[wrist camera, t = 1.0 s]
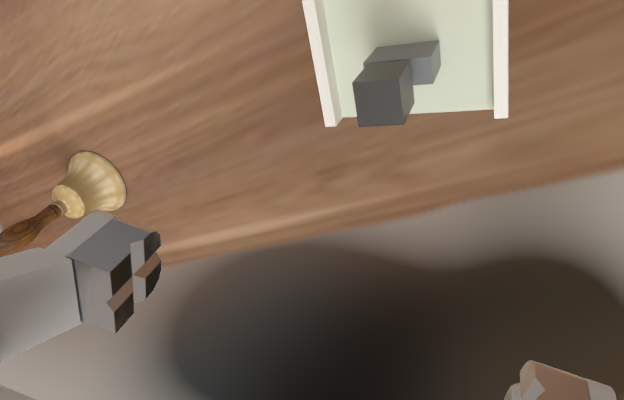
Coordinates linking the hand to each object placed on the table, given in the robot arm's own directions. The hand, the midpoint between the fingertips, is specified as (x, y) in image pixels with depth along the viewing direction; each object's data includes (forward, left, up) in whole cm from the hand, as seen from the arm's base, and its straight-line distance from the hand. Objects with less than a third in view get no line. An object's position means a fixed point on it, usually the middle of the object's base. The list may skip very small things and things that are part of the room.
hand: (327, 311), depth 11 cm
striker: (+5, +3, -33) cm, 34 cm away
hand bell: (+45, +15, -35) cm, 59 cm away
